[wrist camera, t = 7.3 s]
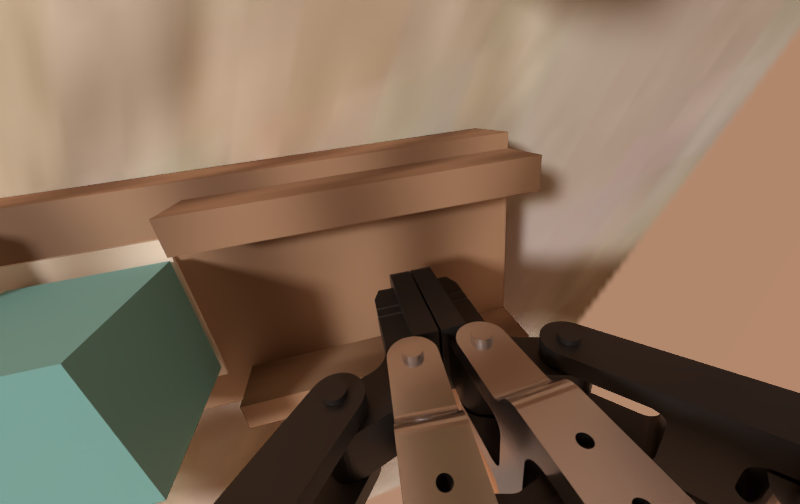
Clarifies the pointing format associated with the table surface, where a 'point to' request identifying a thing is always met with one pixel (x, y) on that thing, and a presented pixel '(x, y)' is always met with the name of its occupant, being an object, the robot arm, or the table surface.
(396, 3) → the table surface
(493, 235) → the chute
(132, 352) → the block
